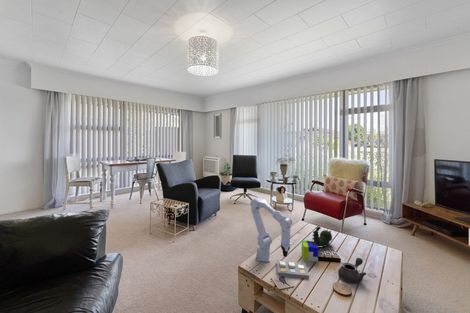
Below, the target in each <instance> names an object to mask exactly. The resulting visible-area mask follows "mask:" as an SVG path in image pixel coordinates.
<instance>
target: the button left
mask: <svg viewBox="0 0 470 313" xmlns="http://www.w3.org/2000/svg"><path fill="white" fill-rule="evenodd" d="M282 261H283V260H280V267H286V264H285V262H282Z"/></svg>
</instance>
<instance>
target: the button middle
mask: <svg viewBox="0 0 470 313" xmlns="http://www.w3.org/2000/svg"><path fill="white" fill-rule="evenodd" d="M293 262H294V261H291V262H289V268H295V264H294V263H293Z"/></svg>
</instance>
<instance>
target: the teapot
mask: <svg viewBox="0 0 470 313" xmlns="http://www.w3.org/2000/svg"><path fill="white" fill-rule="evenodd" d="M362 264H363V259H362V258H361V257H357V258H355V263H354V264H353V263H349V262H343V263H342V264H341V266H340V267H339V269H338V271H337V274H338V276H339V277H340V278H341V279H342V280H344V281H346V282H348V283H352V284H357V283H359V282H362V281H363V279H364V277H365V276H367V272H366V271H365V272H363V271H361V272H359V270H358V267H359V266H360V265H362Z"/></svg>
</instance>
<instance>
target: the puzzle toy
mask: <svg viewBox="0 0 470 313" xmlns="http://www.w3.org/2000/svg"><path fill="white" fill-rule="evenodd" d="M301 256H302V260H303V261H308V262H309V261H311V262H319V247H318V246H317V243H316V242H314V240H304V239H303V240H301Z"/></svg>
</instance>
